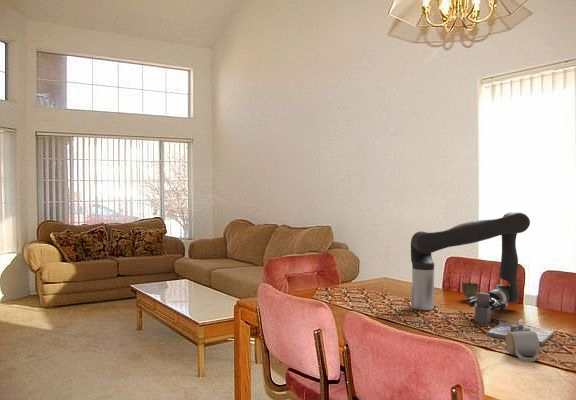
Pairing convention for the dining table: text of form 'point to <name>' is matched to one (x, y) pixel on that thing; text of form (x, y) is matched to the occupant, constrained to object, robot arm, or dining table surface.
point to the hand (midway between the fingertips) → (481, 306)
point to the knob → (483, 308)
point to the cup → (470, 289)
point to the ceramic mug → (523, 345)
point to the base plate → (505, 328)
